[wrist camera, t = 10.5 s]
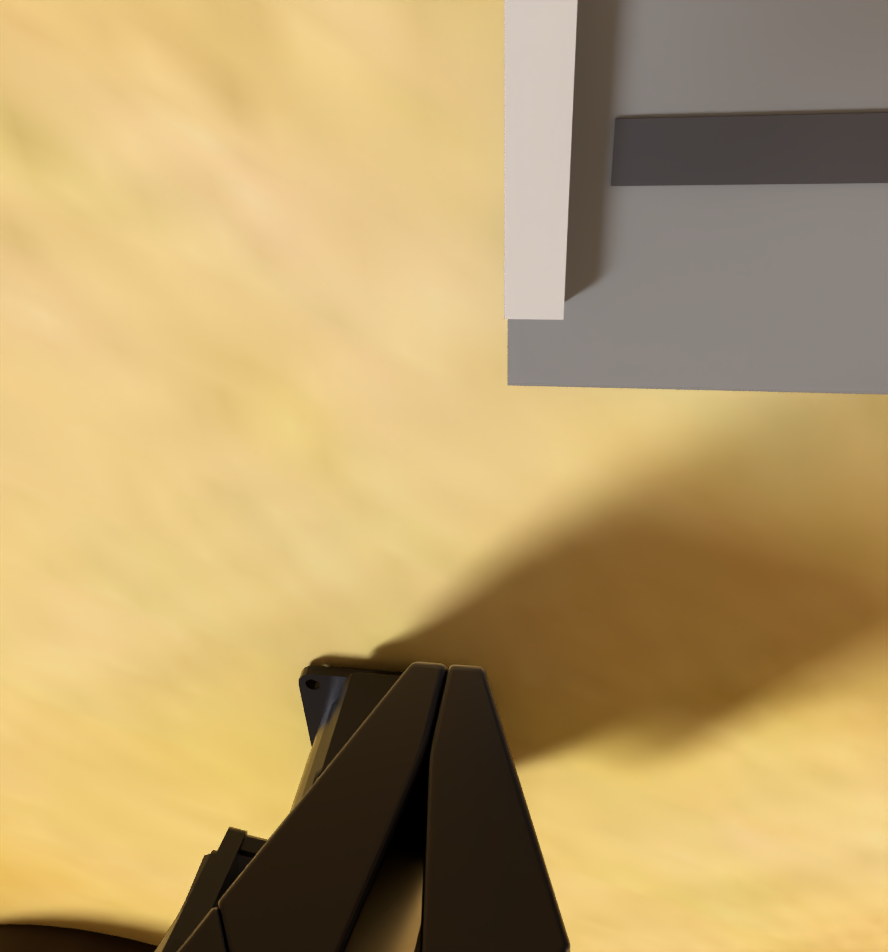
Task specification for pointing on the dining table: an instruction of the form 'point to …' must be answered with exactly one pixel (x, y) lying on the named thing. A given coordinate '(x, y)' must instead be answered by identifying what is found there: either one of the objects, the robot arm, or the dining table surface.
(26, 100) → the dining table surface
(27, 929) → the wall clock
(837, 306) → the fader console
